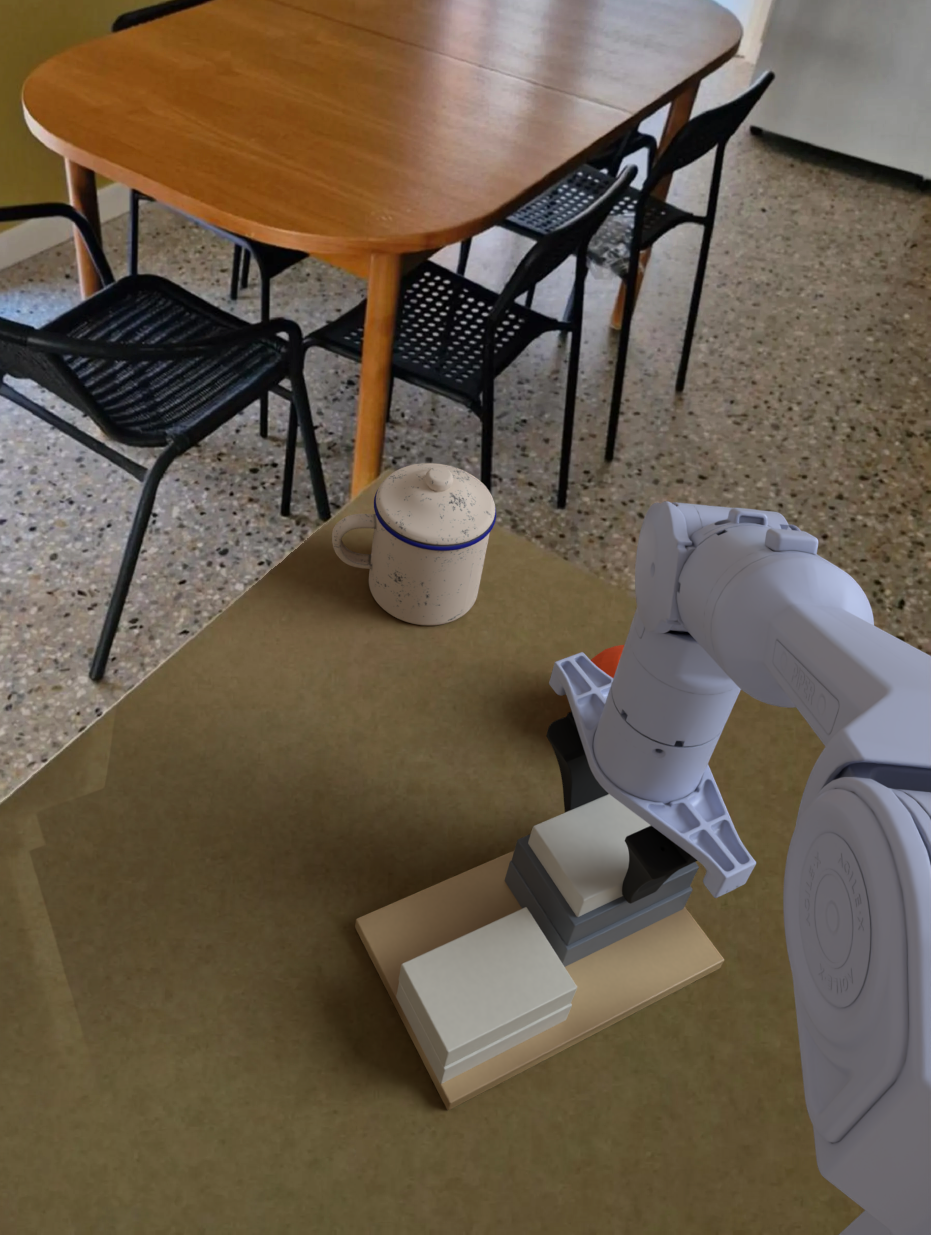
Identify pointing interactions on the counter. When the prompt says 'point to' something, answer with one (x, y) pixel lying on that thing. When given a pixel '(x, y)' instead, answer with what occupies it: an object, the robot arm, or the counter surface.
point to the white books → (484, 993)
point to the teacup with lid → (424, 542)
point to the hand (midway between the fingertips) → (610, 851)
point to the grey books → (597, 926)
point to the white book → (587, 851)
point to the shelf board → (602, 978)
